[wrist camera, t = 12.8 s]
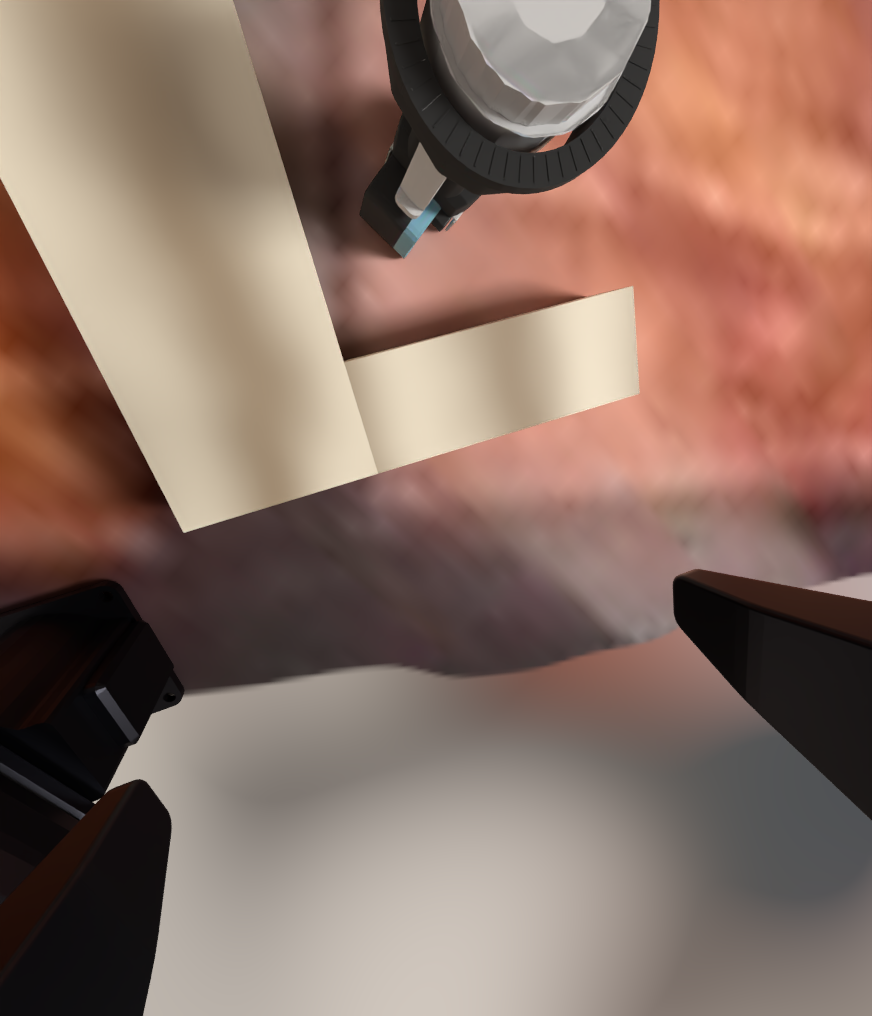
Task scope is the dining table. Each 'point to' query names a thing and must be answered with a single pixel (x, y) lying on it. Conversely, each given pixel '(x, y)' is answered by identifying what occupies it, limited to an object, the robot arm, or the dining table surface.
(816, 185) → the dining table surface
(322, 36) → the dining table surface
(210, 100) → the notched board
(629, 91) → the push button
